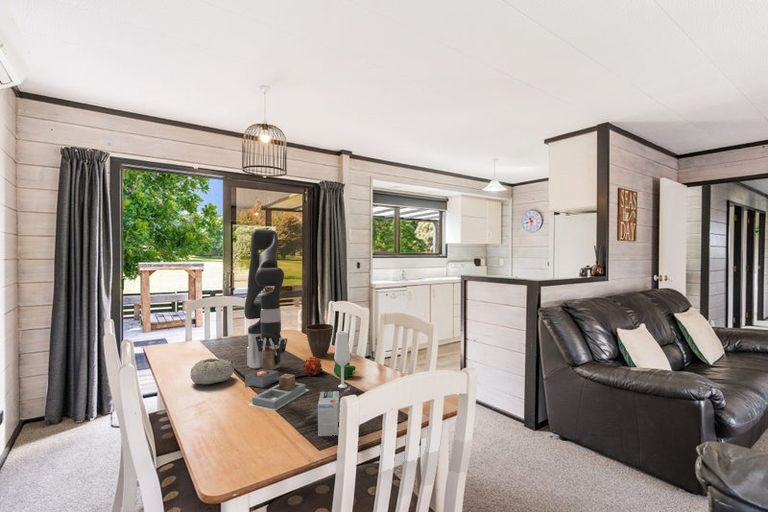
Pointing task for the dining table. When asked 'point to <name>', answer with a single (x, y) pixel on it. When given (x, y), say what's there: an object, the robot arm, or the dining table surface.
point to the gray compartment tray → (277, 397)
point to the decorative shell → (211, 371)
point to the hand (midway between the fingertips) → (271, 363)
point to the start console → (261, 378)
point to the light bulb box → (328, 413)
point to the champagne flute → (342, 354)
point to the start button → (261, 373)
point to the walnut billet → (269, 359)
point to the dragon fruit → (312, 366)
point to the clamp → (347, 370)
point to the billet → (287, 382)
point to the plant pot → (319, 338)
